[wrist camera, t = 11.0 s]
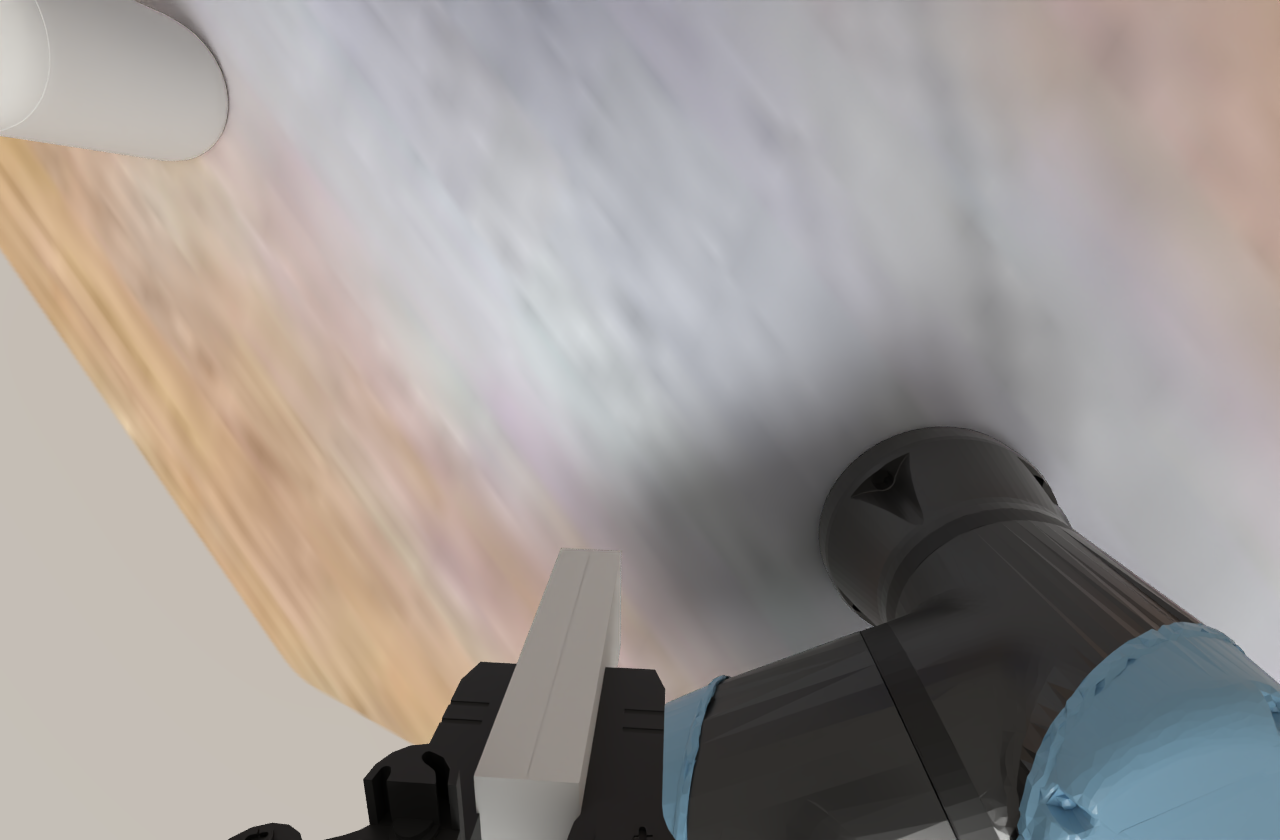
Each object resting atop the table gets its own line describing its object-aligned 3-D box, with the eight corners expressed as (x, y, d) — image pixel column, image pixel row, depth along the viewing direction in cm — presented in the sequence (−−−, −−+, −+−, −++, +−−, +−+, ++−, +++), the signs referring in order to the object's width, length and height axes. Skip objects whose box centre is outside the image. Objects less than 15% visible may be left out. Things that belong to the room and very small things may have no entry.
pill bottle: (237, 34, 34) (-74, -107, 20) (229, 178, 36) (-53, 145, 22) (100, -7, 34) (-317, -180, 19) (101, 142, 36) (-267, 84, 22)
